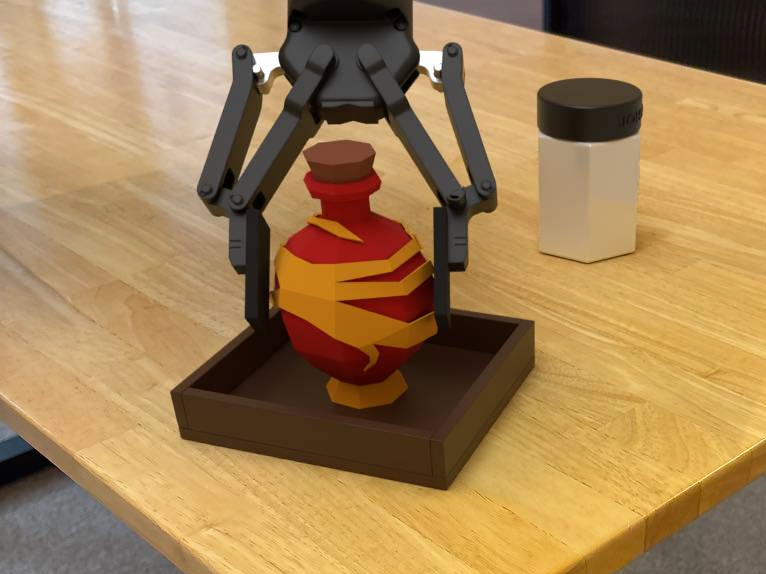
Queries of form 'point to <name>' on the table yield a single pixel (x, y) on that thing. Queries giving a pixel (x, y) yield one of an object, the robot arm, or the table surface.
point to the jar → (588, 167)
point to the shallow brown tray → (367, 425)
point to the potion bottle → (353, 282)
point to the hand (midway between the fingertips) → (349, 324)
